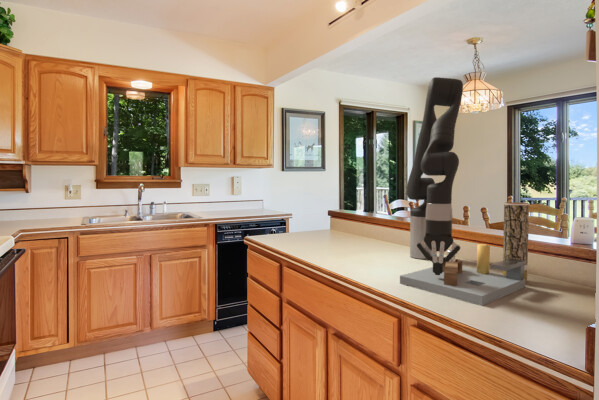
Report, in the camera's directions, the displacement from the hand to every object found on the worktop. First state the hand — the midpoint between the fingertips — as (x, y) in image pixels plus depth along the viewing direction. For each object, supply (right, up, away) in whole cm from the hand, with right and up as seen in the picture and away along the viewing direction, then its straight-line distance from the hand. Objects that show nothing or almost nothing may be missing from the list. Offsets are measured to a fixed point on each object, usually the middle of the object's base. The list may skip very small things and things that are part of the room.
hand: (437, 274), depth 113 cm
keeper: (+19, -4, -4) cm, 20 cm away
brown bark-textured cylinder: (+27, -3, +6) cm, 28 cm away
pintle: (+8, -3, +9) cm, 12 cm away
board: (+8, -4, +1) cm, 8 cm away
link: (+5, -1, +2) cm, 6 cm away
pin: (+17, -1, +6) cm, 18 cm away
